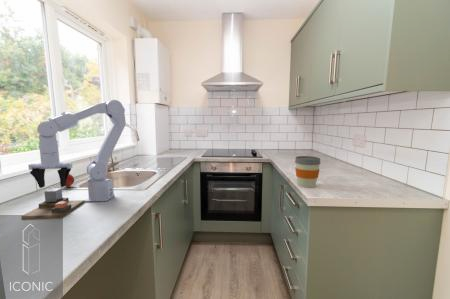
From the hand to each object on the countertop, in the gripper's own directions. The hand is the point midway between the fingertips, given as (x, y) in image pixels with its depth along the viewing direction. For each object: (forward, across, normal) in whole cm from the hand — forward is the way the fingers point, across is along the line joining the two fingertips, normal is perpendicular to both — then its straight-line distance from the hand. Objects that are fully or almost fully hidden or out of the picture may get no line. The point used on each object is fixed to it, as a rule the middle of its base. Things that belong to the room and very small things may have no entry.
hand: (52, 186), depth 89 cm
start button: (+6, -7, +7) cm, 11 cm away
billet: (+7, 0, 0) cm, 7 cm away
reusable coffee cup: (+9, -115, -15) cm, 116 cm away
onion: (+8, +10, -29) cm, 32 cm away
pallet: (+8, -2, +4) cm, 9 cm away
